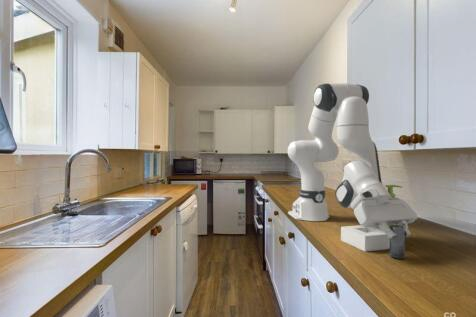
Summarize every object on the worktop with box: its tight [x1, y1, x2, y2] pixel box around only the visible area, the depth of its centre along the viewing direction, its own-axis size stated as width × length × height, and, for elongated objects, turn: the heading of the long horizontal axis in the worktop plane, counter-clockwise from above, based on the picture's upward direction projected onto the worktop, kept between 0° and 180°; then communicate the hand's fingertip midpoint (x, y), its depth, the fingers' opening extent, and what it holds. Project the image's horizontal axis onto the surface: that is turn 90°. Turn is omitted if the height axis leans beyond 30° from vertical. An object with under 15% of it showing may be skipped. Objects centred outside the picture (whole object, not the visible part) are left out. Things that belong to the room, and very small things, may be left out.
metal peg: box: [389, 225, 406, 259], centre depth 82 cm, size 4×4×9 cm
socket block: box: [340, 224, 390, 252], centre depth 94 cm, size 12×12×5 cm
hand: (400, 236), depth 80 cm, fingers closed on metal peg, 4 cm apart
